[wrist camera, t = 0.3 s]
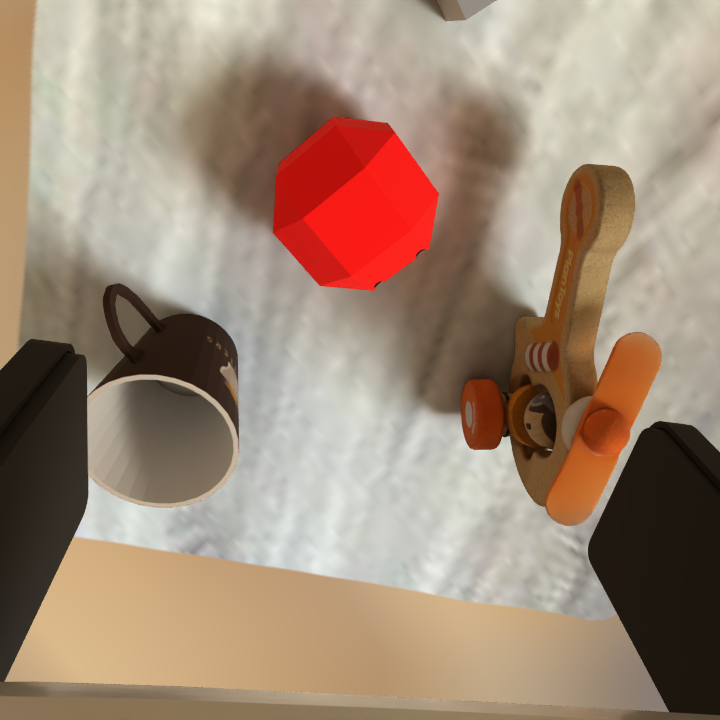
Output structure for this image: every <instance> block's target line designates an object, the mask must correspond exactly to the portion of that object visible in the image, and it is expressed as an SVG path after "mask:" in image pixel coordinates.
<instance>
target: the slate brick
mask: <svg viewBox="0 0 720 720" xmlns="http://www.w3.org/2000/svg"><path fill="white" fill-rule="evenodd" d="M494 1H496V0H437V2H438V4H439V7H440V9H441V11H442V13H443V16H444V18H445V20H446V21H455V20H466V19H468V18H470V17H471V16H473V15H474V14H476V13H477V12H479V11H480V10H482V9H483V8H485V7H487V6H488V5H490V4H491V3H493V2H494Z"/></svg>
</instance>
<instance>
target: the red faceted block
mask: <svg viewBox="0 0 720 720" xmlns="http://www.w3.org/2000/svg"><path fill="white" fill-rule="evenodd" d="M438 196H439V193H438V192H437V190H436V189H435V188H434V186H433V185H432V183H431V182H430V181H429V179H428V178H427V176H426V175H425V174H424V172H423V171H422V169H421V168H420V167H419V165H418V164H417V162H416V161H415V160H414V158H413V157H412V155H411V154H410V153H409V151H408V150H407V148H406V147H405V146H404V144H403V143H402V141H401V140H400V139H399V137H398V136H397V135H396V133H395V132H394V131H393V129H392V128H391V127H390V126H389V124H388V123H382V122H374V121H366V120H357V119H349V118H341V117H333V118H331V119H330V120H329V121H328V122H327V123H326V124H324V125H323V126H322V127H321V128H320V129H319V130H317V131H316V132H315V133H314V134H313V135H312V136H310V137H309V138H308V139H307V140H306V141H305V142H303V143H302V144H301V145H300V146H299V147H298V148H296V149H295V150H294V151H293V152H292V153H291V154H289V155H288V156H287V157H286V158H285V159H283V160H282V161H281V162H280V163H279V167H278V171H277V175H276V190H275V207H274V225H273V233H274V234H275V236H276V237H277V238H278V239H279V240H280V241H281V242H282V244H283V245H284V246H285V247H286V248H287V249H288V250H289V251H290V253H291V254H292V255H293V256H294V257H295V258H296V259H297V260H298V262H299V263H300V264H301V265H302V266H303V267H304V268H305V270H306V271H307V272H308V273H309V274H310V275H311V276H312V277H313V279H314V280H315V281H316V282H317V283H318V284H319V285H320V286H327V287H338V288H349V289H360V290H371V291H373V290H374V289H375V287H376V286H377V285H378V284H379V283H380V282H382V281H384V282H385V281H386V280H388V279H389V278H390V277H392V276H393V275H394V274H396V273H397V272H398V271H400V270H401V269H402V268H404V267H405V266H406V265H408V264H409V263H410V262H412V261H413V260H414V259H416V258H417V255H418V254H419V253H420V252H421V251H423V250H428V249H429V246H430V240H431V235H432V229H433V224H434V218H435V212H436V207H437V201H438Z"/></svg>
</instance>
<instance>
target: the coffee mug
mask: <svg viewBox="0 0 720 720" xmlns="http://www.w3.org/2000/svg"><path fill="white" fill-rule="evenodd" d="M117 294H118V295H120V296H122V297H124V298H125V299H127V300H128V301H129V302H130V303H131V304H132V305H133V306H134V307H135V308H136V309H137V310H138V312H139V313H140V314H141V315H142V316H143V317H144V318H145V320H146V321H147V322H148V323H149V324H150V325H151V326H152V327H151V328H150V329H149V330H148V331H147V333H146V334H145V335H144V336H143V337H142V338H141V339H140V340H139V341H138V342H137V343H136V344H135V346H134V347H132V346H131V345H130V344H129V342H128V341H127V339H126V337H125V336H124V334H123V332H122V330H121V328H120V325H119V323H118V318H117V314H116V307H115V301H116V296H117ZM103 307H104V313H105V318H106V321H107V325H108V328H109V330H110V333H111V336H112V338H113V340H114V342H115V344H116V345H117V346H118V348H119V349H120V350H121V351H122V353H123V354H124V355H125V356H124V358H123V359H122V360H121V361H120V362H119V363H118V364H117V365H116V366H115V367H114V368H113V369H112V371H111V372H110V373H109V374H108V375H107V376H106V377H105V378H104V379H103V380H102V381H101V383H100V384H99V385H98V386H97V387H96V388H95V389H94V390H93V391H92V392H91V393H90V394H89V396H88V397H87V427H88V475H89V476H90V477H91V478H92V479H93V480H94V481H95V482H96V483H97V484H98V485H99V486H101V487H102V488H104V489H105V490H107V491H108V492H110V493H111V494H113V495H115V496H117V497H119V498H121V499H124V500H126V501H129V502H132V503H136V504H139V505H144V506H150V507H178V506H184V505H188V504H192V503H195V502H198V501H201V500H203V499H204V498H206V497H208V496H210V495H212V494H213V493H215V492H216V491H217V490H218V489H220V488H221V487H222V486H223V485H224V484H225V483H226V481H227V480H228V479H229V478H230V476H231V475H232V473H233V471H234V468H235V466H236V464H237V459H238V454H239V418H238V355H237V351H236V347H235V344H234V342H233V340H232V339H231V337H230V336H229V335H228V333H227V332H226V331H225V330H224V329H223V328H222V327H221V326H219V325H218V324H216V323H215V322H213V321H211V320H209V319H207V318H204V317H202V316H197V315H192V314H179V315H172V316H169V317H167V318H164V319H162V320H160V321H159V320H158V319H157V318H156V317H155V316H154V314H153V313H152V312H151V311H150V309H149V308H148V307H147V306H146V305H145V304H144V303H143V301H142V300H141V299H140V298H139V297H138V296H137V295H136V294H135V293H134V292H132V291H131V290H130V289H129V288H127V287H126V286H124V285H122V284H113V285H110V286H108V287H107V288H106V290H105V293H104V296H103Z"/></svg>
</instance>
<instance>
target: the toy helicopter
mask: <svg viewBox="0 0 720 720" xmlns="http://www.w3.org/2000/svg"><path fill="white" fill-rule="evenodd" d="M634 212H635V194H634V188H633V184H632V182H631V179H630V177H629V175H628V174H627V173H626V171H624V170H623V169H621V168H620V167H616V166H607V165H595V164H585V165H582V166H581V167H579V168H578V169H577V170H576V171H575V172H574V173H573V174H572V176H571V178H570V179H569V181H568V184H567V186H566V189H565V191H564V194H563V199H562V204H561V212H560V231H561V247H560V253H559V256H558V261H557V265H556V270H555V274H554V279H553V283H552V288H551V292H550V297H549V301H548V306H547V310H546V314H545V317H526V316H524V317H520V318H519V319H518V321H517V323H516V326H515V357H514V361H513V365H512V369H511V375H510V382H509V392H500V390H499V387H498V385H497V383H496V382H495V381H493V380H491V379H474V380H469V381H468V382H467V383H466V385H465V386H464V389H463V393H462V402H461V417H462V427H463V433H464V437H465V440H466V442H467V444H468V446H469V447H470V448H471V449H474V450H491V449H495V448H497V447H498V445H499V444H500V441H501V438H502V436H503V437H507V436H510V440H511V445H512V451H513V456H514V459H515V463H516V466H517V470H518V473H519V475H520V478H521V480H522V482H523V485H524V487H525V489H526V490H527V492H528V494H529V495H530V497H531V498H532V499H533V501H534V502H535V503H537V504H538V505H540V506H543V507H545V508H546V510H547V513H548V515H549V516H550V517H551V518H552V519H553V520H554V521H556V522H557V523H559V524H562V525H566V526H575V525H578V524H581V523H583V522H584V521H585V520H587V519H588V518H589V517H590V515H591V514H592V512H593V510H594V508H595V507H596V505H597V503H598V501H599V499H600V496H601V494H602V492H603V490H604V488H605V486H606V485H607V482H608V480H609V478H610V476H611V474H612V472H613V470H614V468H615V465H616V463H617V460H618V458H619V456H620V455H621V454H622V453H623V452H624V451H625V449H626V448H627V446H628V444H629V441H630V438H631V427H632V425H633V423H634V421H635V419H636V417H637V415H638V413H639V411H640V409H641V407H642V405H643V403H644V400H645V398H646V396H647V394H648V392H649V390H650V388H651V385H652V383H653V381H654V379H655V377H656V374H657V373H658V371H659V369H660V366H661V361H662V353H661V349H660V346H659V344H658V343H657V342H656V341H655V340H654V339H653V338H652V337H651V336H649V335H647V334H645V333H640V332H634V333H629V334H626V335H625V336H623V337H621V338H620V339H619V340H618V341H617V342H616V344H615V346H614V348H613V350H612V352H611V355H610V357H609V359H608V362H607V364H606V366H605V368H604V370H603V372H602V375H601V377H600V379H599V382H598V381H597V374H596V369H595V364H594V346H595V341H596V336H597V331H598V326H599V322H600V317H601V313H602V308H603V303H604V299H605V294H606V289H607V284H608V280H609V275H610V270H611V266H612V262H613V259H614V257H615V255H616V253H617V252H618V250H619V249H620V248H621V247H622V245H623V244H624V243H625V241H626V239H627V237H628V235H629V233H630V230H631V227H632V223H633V219H634ZM547 448H548V449H552V450H553V451H548V449H547Z"/></svg>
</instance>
